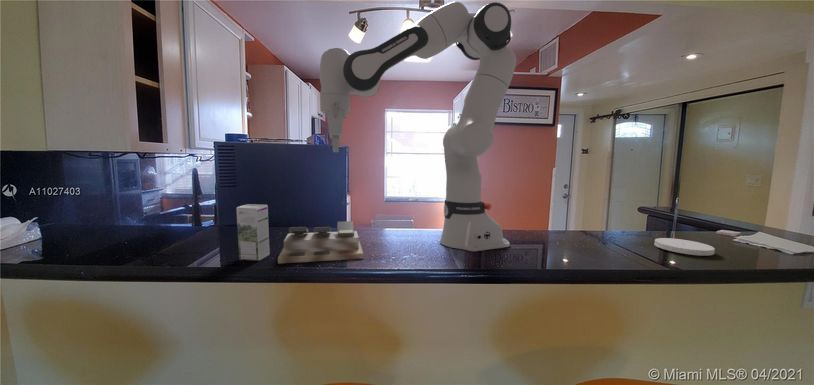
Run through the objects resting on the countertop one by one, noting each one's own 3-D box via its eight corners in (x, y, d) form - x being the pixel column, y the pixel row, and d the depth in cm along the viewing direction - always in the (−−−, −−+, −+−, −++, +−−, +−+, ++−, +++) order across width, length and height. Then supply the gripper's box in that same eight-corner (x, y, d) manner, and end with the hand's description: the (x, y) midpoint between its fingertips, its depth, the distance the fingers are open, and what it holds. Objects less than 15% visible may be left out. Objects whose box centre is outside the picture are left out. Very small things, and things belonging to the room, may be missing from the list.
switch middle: (331, 231, 92) (331, 227, 92) (330, 230, 85) (330, 226, 85) (315, 232, 91) (315, 228, 91) (313, 231, 84) (313, 227, 84)
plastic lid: (703, 249, 99) (704, 241, 99) (722, 261, 87) (723, 253, 87) (649, 243, 106) (650, 236, 105) (660, 254, 93) (661, 246, 93)
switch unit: (359, 246, 96) (359, 227, 95) (363, 258, 84) (363, 237, 84) (285, 249, 91) (284, 230, 90) (278, 263, 79) (277, 241, 79)
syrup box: (270, 254, 86) (268, 203, 85) (258, 261, 80) (256, 207, 79) (251, 253, 87) (249, 203, 85) (238, 260, 81) (235, 206, 79)
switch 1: (308, 233, 91) (308, 229, 91) (306, 230, 84) (306, 226, 84) (292, 233, 89) (292, 229, 90) (288, 231, 83) (288, 227, 83)
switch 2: (352, 224, 94) (352, 220, 93) (354, 236, 87) (354, 232, 87) (337, 224, 92) (337, 221, 92) (337, 237, 86) (337, 233, 86)
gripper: (347, 100, 83) (347, 152, 85) (345, 111, 103) (345, 152, 104) (323, 99, 82) (323, 151, 83) (325, 110, 101) (326, 152, 103)
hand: (335, 152), depth 94 cm, fingers closed
